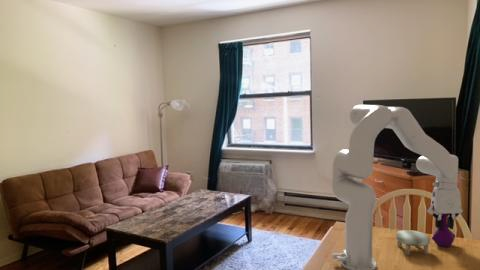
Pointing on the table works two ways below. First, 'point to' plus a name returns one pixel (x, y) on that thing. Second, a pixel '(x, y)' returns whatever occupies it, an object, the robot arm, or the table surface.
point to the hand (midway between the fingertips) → (444, 227)
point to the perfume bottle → (443, 234)
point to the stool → (413, 240)
